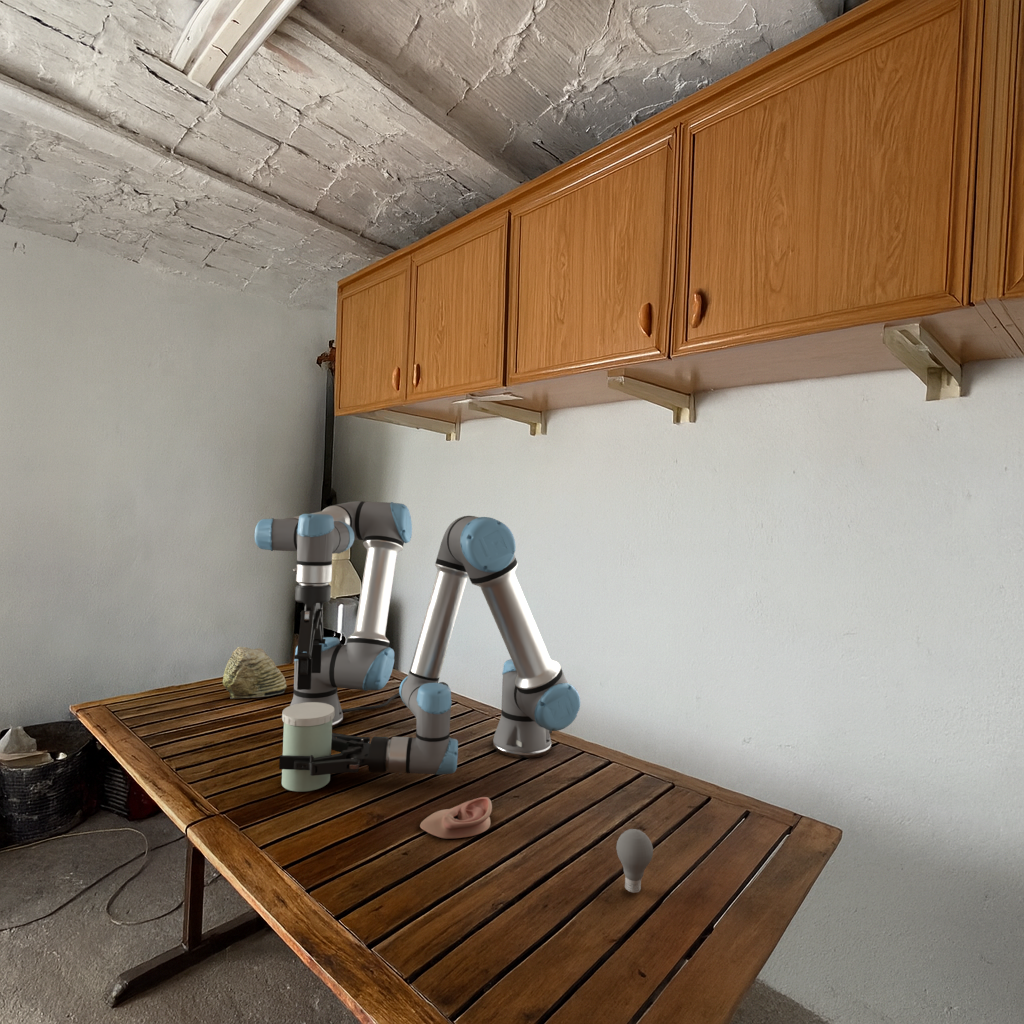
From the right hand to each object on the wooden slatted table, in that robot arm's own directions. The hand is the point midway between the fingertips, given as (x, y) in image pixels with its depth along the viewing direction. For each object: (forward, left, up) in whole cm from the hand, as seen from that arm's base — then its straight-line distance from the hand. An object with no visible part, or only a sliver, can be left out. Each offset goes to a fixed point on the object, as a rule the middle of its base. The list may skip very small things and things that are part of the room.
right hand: (288, 751), depth 140 cm
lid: (-4, +2, +9) cm, 10 cm away
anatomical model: (-27, +32, -6) cm, 43 cm away
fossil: (+1, -65, -6) cm, 65 cm away
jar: (-4, +2, -6) cm, 8 cm away
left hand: (-4, +2, +16) cm, 17 cm away
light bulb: (-47, +63, -6) cm, 79 cm away
